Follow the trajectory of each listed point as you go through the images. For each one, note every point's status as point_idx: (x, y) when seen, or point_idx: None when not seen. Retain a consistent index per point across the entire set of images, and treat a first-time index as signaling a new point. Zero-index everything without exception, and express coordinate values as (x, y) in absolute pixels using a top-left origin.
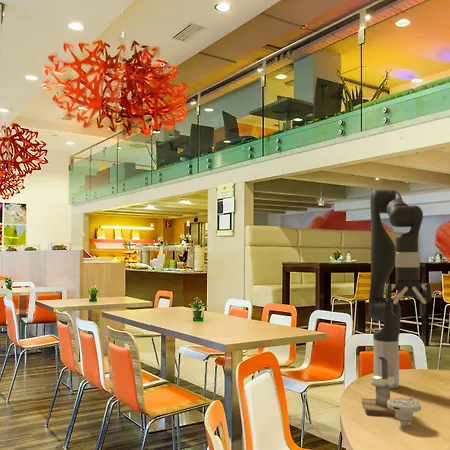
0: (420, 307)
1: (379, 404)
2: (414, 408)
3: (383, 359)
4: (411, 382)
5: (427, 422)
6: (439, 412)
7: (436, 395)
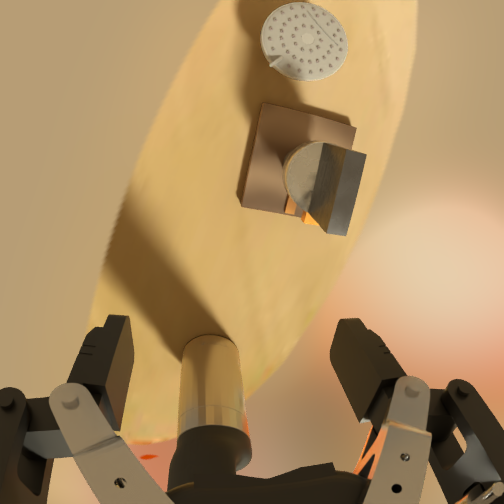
0: (120, 386)
1: None
2: (294, 3)
3: (347, 183)
4: (146, 376)
5: (227, 62)
6: (160, 141)
7: (116, 285)
